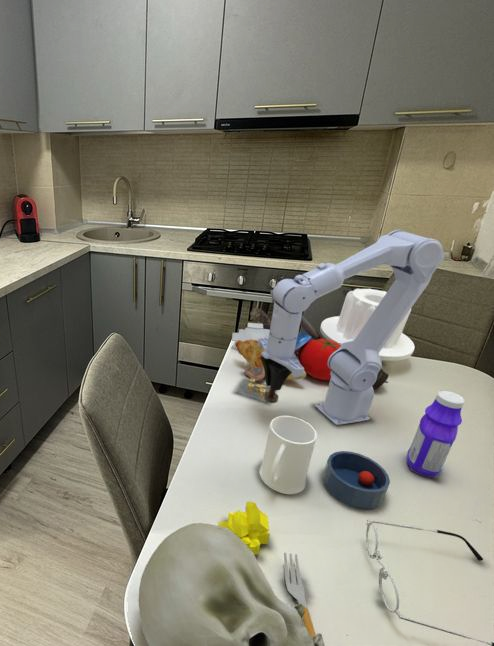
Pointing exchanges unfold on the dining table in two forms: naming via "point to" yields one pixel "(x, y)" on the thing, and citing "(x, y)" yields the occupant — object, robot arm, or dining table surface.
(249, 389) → the dice set
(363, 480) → the ball
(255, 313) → the bird
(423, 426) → the bottle
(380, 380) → the cocoa
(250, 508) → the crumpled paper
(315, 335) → the gun
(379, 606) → the dining table surface
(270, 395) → the flanged brown rod
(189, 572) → the skull
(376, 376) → the robot arm
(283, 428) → the mug
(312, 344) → the tomato
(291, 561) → the fork
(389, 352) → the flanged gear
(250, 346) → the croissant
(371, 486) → the bowl
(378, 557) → the eyeglasses
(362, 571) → the dining table surface
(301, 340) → the cell model
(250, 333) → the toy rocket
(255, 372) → the pottery shard
